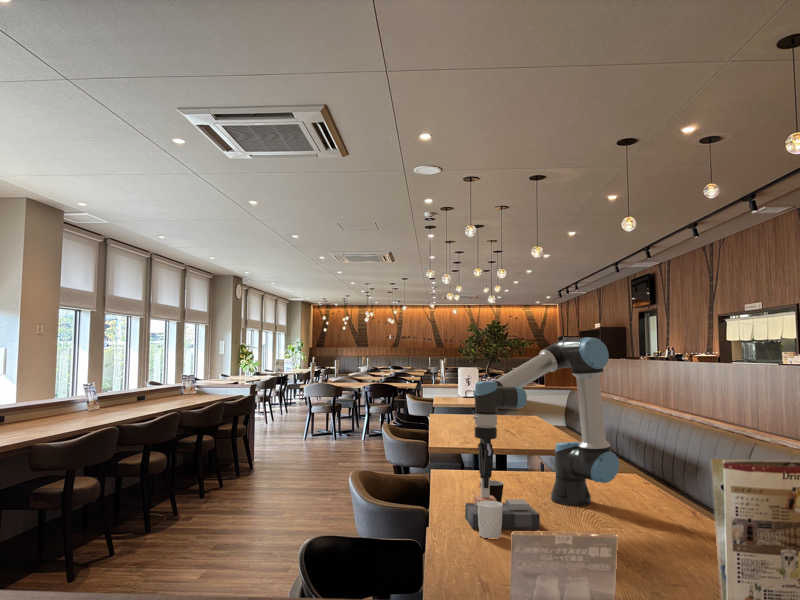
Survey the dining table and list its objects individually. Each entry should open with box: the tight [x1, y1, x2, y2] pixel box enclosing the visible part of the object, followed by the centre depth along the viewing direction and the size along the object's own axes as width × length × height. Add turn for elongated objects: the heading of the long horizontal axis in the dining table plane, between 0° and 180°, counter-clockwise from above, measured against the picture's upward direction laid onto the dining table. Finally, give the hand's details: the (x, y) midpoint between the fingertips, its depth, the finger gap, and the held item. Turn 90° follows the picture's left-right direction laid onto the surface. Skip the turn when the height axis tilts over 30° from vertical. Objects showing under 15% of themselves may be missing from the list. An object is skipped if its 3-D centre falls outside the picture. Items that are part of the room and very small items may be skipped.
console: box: [464, 502, 541, 531], centre depth 189 cm, size 22×14×5 cm, turn 94°
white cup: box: [477, 501, 503, 539], centre depth 176 cm, size 8×8×10 cm
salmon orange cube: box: [473, 494, 497, 506], centre depth 189 cm, size 6×6×6 cm
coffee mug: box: [479, 479, 504, 503], centre depth 207 cm, size 12×9×10 cm
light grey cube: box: [505, 498, 530, 511], centre depth 190 cm, size 6×6×6 cm
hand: (485, 497), depth 190 cm, fingers closed
